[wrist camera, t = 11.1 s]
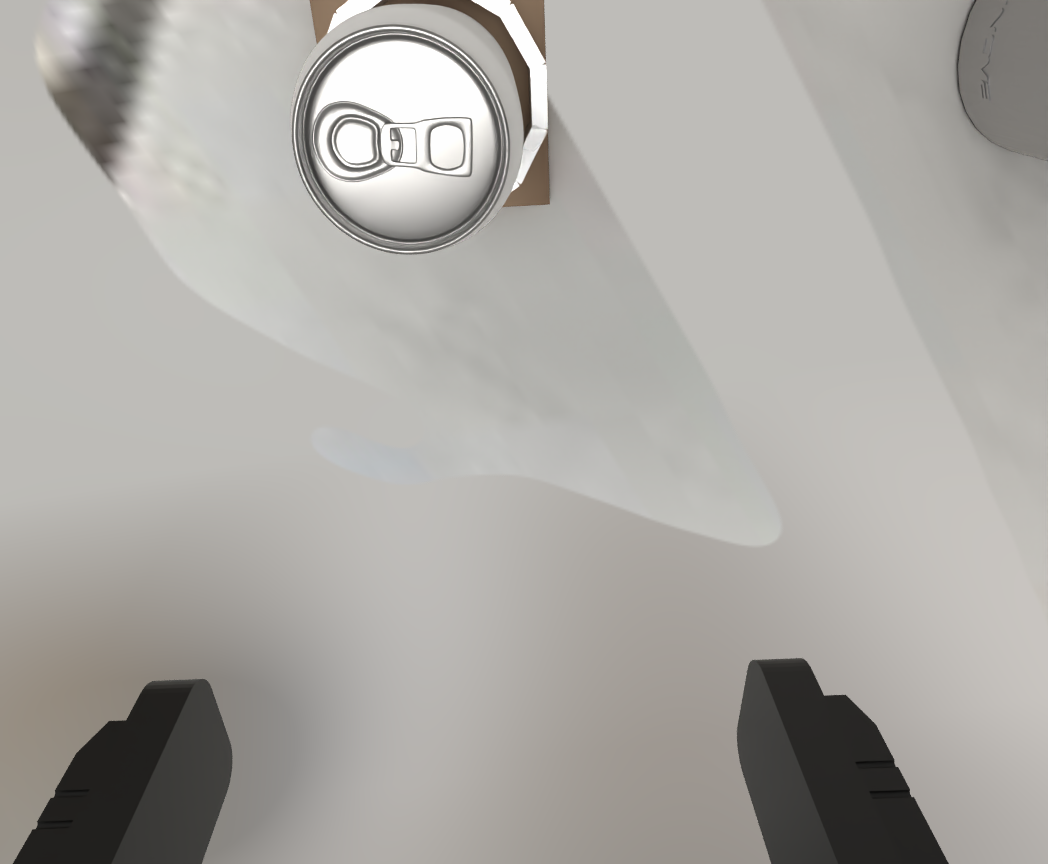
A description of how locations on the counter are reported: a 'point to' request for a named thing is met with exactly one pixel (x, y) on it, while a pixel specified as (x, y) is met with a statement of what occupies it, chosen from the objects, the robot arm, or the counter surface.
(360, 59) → the can
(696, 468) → the counter surface
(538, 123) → the collar
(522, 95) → the board
